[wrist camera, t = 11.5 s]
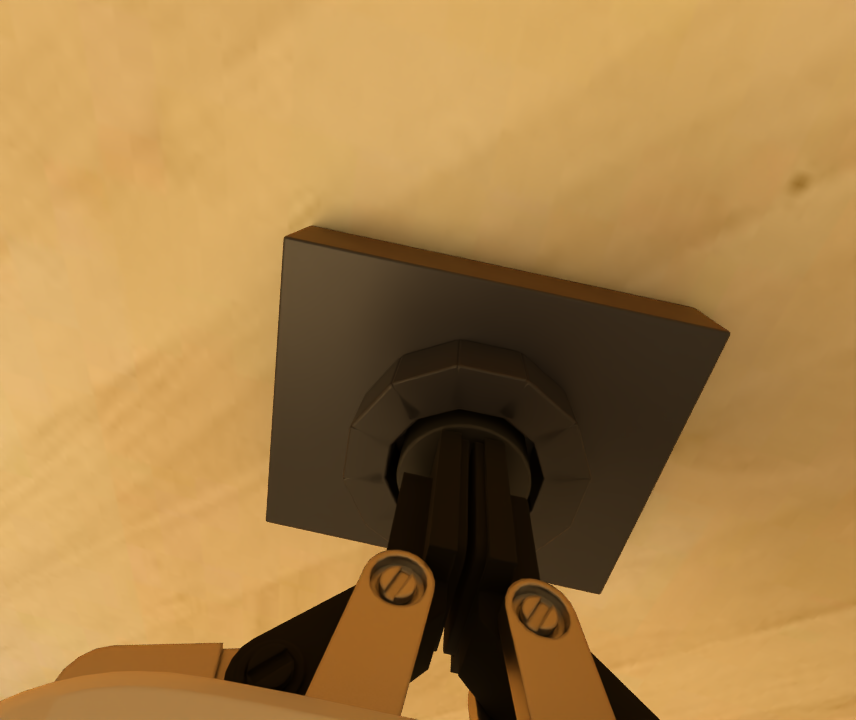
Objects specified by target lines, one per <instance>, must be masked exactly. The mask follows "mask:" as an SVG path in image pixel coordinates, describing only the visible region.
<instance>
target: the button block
mask: <svg viewBox="0 0 856 720" xmlns="http://www.w3.org/2000/svg"><path fill="white" fill-rule="evenodd" d="M729 336H730V332H729V331H728V330H726V329H725V328H723V327H722V326H720V325H719V324H717V323H716V322H714V321H713V320H711V319H710V318H708V317H707V316H705V315H704V314H703V313H701V312H700V311H698V310H697V309H695V308H692V307H688V306H683V305H678V304H674V303H669V302H664V301H660V300H655V299H650V298H646V297H641V296H636V295H632V294H627V293H622V292H618V291H613V290H608V289H604V288H599V287H594V286H590V285H585V284H581V283H576V282H571V281H567V280H562V279H557V278H553V277H548V276H543V275H539V274H534V273H529V272H525V271H520V270H515V269H511V268H506V267H501V266H497V265H492V264H488V263H483V262H478V261H474V260H469V259H464V258H460V257H455V256H450V255H446V254H441V253H436V252H432V251H427V250H422V249H418V248H413V247H408V246H404V245H399V244H394V243H390V242H385V241H381V240H376V239H371V238H367V237H362V236H357V235H353V234H348V233H343V232H339V231H334V230H329V229H325V228H320V227H315V226H309V227H306V228H304V229H302V230H299V231H297V232H294V233H292V234H290V235H287V236H285V237H284V242H283V257H282V273H281V289H280V305H279V321H278V336H277V352H276V368H275V384H274V400H273V416H272V431H271V447H270V463H269V479H268V495H267V510H266V521H267V522H271V523H275V524H280V525H284V526H289V527H294V528H298V529H303V530H307V531H312V532H316V533H321V534H326V535H330V536H335V537H339V538H344V539H348V540H353V541H357V542H362V543H367V544H371V545H376V546H380V547H385V548H387V546H388V542H389V537H390V533H391V528H392V524H393V519H394V514H395V510H396V505H397V501H398V496H399V489H398V485H397V476H396V473H397V466H398V462H399V458H400V454H401V450H402V446H403V442H404V438H405V434H406V431H407V430H408V429H409V428H410V427H411V426H412V425H413V424H414V423H415V422H416V421H417V420H418V419H421V418H425V417H429V416H433V415H437V414H441V413H445V412H449V411H453V410H457V409H463V410H468V411H472V412H477V413H481V414H486V415H491V416H495V417H500V418H504V419H505V420H506V421H507V422H509V423H510V424H511V425H512V426H513V427H515V428H516V429H517V430H518V431H519V432H521V433H522V434H523V435H524V438H525V443H526V448H527V454H528V459H529V465H530V470H531V480H532V482H531V490H530V493H529V496H528V499H527V502H528V506H529V512H530V518H531V525H532V531H533V537H534V543H535V550H536V556H537V562H538V569H539V575H540V580H541V581H544V582H546V583H549V584H554V585H559V586H563V587H568V588H572V589H577V590H581V591H586V592H591V593H595V594H601V592H602V590H603V588H604V586H605V584H606V582H607V580H608V578H609V576H610V574H611V572H612V570H613V568H614V566H615V564H616V562H617V560H618V558H619V556H620V554H621V552H622V550H623V548H624V546H625V544H626V542H627V540H628V538H629V536H630V534H631V532H632V530H633V528H634V526H635V524H636V522H637V520H638V518H639V516H640V514H641V512H642V510H643V508H644V506H645V504H646V502H647V500H648V498H649V496H650V494H651V492H652V490H653V488H654V486H655V484H656V482H657V480H658V478H659V476H660V474H661V472H662V470H663V468H664V466H665V464H666V462H667V460H668V458H669V456H670V454H671V452H672V450H673V448H674V446H675V444H676V442H677V440H678V438H679V436H680V434H681V432H682V430H683V428H684V426H685V424H686V422H687V420H688V418H689V416H690V414H691V412H692V410H693V408H694V406H695V404H696V402H697V400H698V398H699V396H700V394H701V392H702V390H703V388H704V386H705V384H706V382H707V380H708V378H709V376H710V374H711V372H712V370H713V368H714V366H715V364H716V362H717V360H718V358H719V356H720V354H721V352H722V350H723V348H724V346H725V344H726V342H727V340H728V338H729Z"/></svg>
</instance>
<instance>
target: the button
mask: <svg viewBox="0 0 856 720" xmlns="http://www.w3.org/2000/svg"><path fill="white" fill-rule="evenodd" d="M442 429H444V430H449V431H454V432H458V433H462V439H465V440H469V458H470V455H471V451H472V448H473V444H474V442H479V443H481V442H482V440H483V438H486V439H491V440H495V441H500V442H504V444H505V451H506V460H507V469H508V478H509V487H510V495H514V496H518V497H523V498H526V499H528V496H529V493H530V490H531V482H532V480H531V470H530V465H529V459H528V454H527V448H526V443H525V438H524V435H523V434H522V433H521V432H519V431H518V430H517V429H516V428H515V427H513V426H512V425H511V424H510V423H509V422H507V421H506V420H505V419H504V418H500V417H495V416H491V415H486V414H481V413H477V412H472V411H468V410H463V409H457V410H453V411H449V412H445V413H441V414H437V415H433V416H429V417H425V418H421V419H418V420H417V421H416V422H415V423H414V424H413V425H412V426H411V427H410V428H409V429H408V430H407V431H406V434H405V438H404V442H403V446H402V450H401V454H400V458H399V462H398V466H397V473H396V476H397V485H398V489H399V492H400V487H401V482H402V478H403V473H404V472H407V473H412V474H416V475H421V476H425V477H430V474H431V470H432V466H433V462H434V458H435V454H436V450H437V445H438V441H439V437H440V433H441V430H442Z"/></svg>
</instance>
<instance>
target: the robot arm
mask: <svg viewBox="0 0 856 720" xmlns="http://www.w3.org/2000/svg"><path fill="white" fill-rule="evenodd" d="M443 629H444V642H443V652H444V653H445V654H450V655H451V672H453V673H457V674H458V676H459V677H460V678H461V680H462V681H463V682H464V684H465V685H466V686H467V688H468V689H469V693H468V710H469V718H470V720H660V719H659V718H658V717H657V716H656V715H655V714H653V713H652V712H651V711H650V710H649V709H648V708H647V707H646V706H645V705H644V704H643V703H642V702H641V701H640V700H639V699H638V698H637V697H636V696H635V695H634V694H633V693H632V692H631V691H630V690H629V689H628V688H627V687H626V686H625V685H624V684H623V683H622V682H621V681H620V680H619V679H618V678H617V677H616V676H615V675H614V674H613V673H612V672H611V671H610V670H609V669H608V668H607V667H606V666H605V665H604V664H603V663H602V662H601V661H599V660H598V659H597V658H596V657H595V656H594V655H593V654H592V653H591V652H590V649H589V647H588V644H587V641H586V639H585V636H584V633H583V631H582V628H581V625H580V623H579V620H578V617H577V615H576V612H575V610H574V608H573V606H572V605H571V603H570V601H569V600H568V599H567V598H566V597H565V596H564V594H563V593H562V592H560V591H559V590H558V589H556V588H555V587H554V586H552V585H550V584H548V583H546V582H544V581H541V580H540V575H539V569H538V562H537V556H536V550H535V543H534V537H533V531H532V525H531V518H530V512H529V506H528V502H527V499H526V498H523V497H518V496H514V495H510V487H509V478H508V469H507V460H506V451H505V444H504V442H500V441H495V440H491V439H486V438H483V440H482V442H481V443H479V442H474V444H473V448H472V451H471V455H470V458H469V440H465V439H462V433H458V432H454V431H449V430H444V429H442V430H441V433H440V437H439V441H438V445H437V450H436V454H435V458H434V462H433V466H432V470H431V474H430V477H425V476H421V475H416V474H412V473H407V472H404V473H403V478H402V482H401V487H400V492H399V496H398V501H397V505H396V510H395V514H394V519H393V524H392V528H391V533H390V537H389V542H388V546H387V551H384V552H381V553H378V554H376V555H375V556H374V557H372V558H371V559H370V560H369V561H368V563H367V564H366V566H365V567H364V569H363V571H362V573H361V576H360V578H359V580H358V582H357V584H356V585H355V586H353V587H351V588H349V589H347V590H346V591H344V592H342V593H340V594H338V595H336V596H334V597H332V598H330V599H328V600H326V601H325V602H323V603H321V604H319V605H317V606H315V607H313V608H311V609H309V610H307V611H306V612H304V613H302V614H300V615H298V616H296V617H294V618H292V619H290V620H288V621H286V622H285V623H283V624H281V625H279V626H277V627H275V628H273V629H271V630H269V631H267V632H265V633H264V634H262V635H260V636H258V637H256V638H254V639H253V640H251V641H250V642H248V643H247V644H245V645H244V646H242V647H241V648H236V649H223V643H196V644H154V645H113V646H108V647H102V648H97V649H94V650H92V651H90V652H88V653H86V654H84V655H82V656H80V657H78V658H77V659H76V660H75V661H73V662H72V663H71V664H70V665H68V666H67V667H66V668H65V669H64V670H63V671H62V672H61V674H60V675H59V676H58V678H57V679H56V680H55V682H52V683H48V684H45V685H42V686H39V687H36V688H33V689H30V690H26V691H23V692H21V693H18V694H16V695H14V696H11V697H9V698H6V699H4V700H2V701H0V720H417V719H412V718H407V717H402V716H401V712H402V709H403V705H404V701H405V698H406V694H407V690H408V687H409V683H410V682H412V681H413V680H414V679H416V678H417V677H418V676H420V675H421V674H422V673H424V672H425V671H426V670H428V668H429V665H430V662H431V658H432V655H433V652H434V651H437V648H438V645H439V642H440V639H441V636H442V632H443Z"/></svg>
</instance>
